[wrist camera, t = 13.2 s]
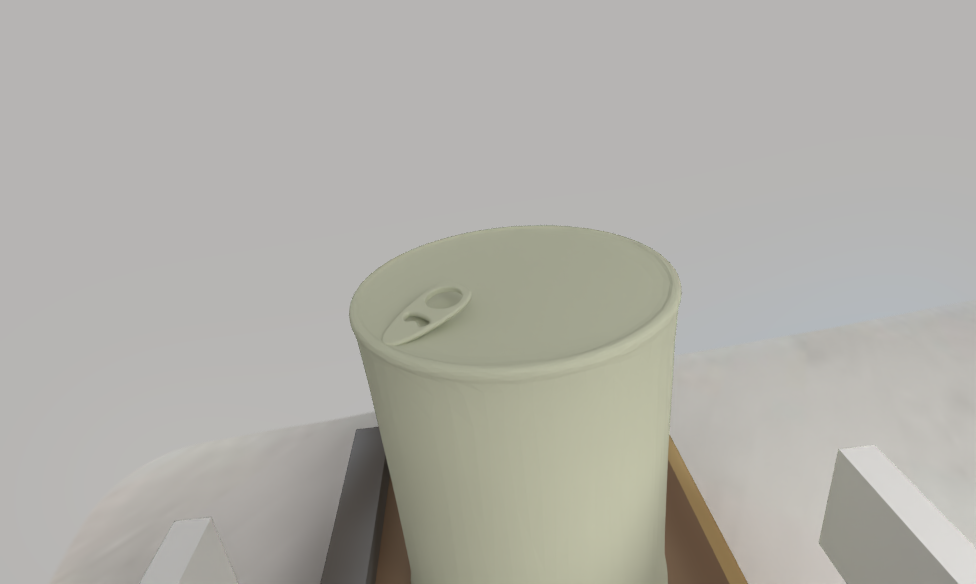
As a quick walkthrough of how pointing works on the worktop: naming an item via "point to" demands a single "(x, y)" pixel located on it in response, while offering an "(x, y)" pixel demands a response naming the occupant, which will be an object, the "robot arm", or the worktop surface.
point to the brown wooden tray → (382, 550)
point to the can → (525, 403)
